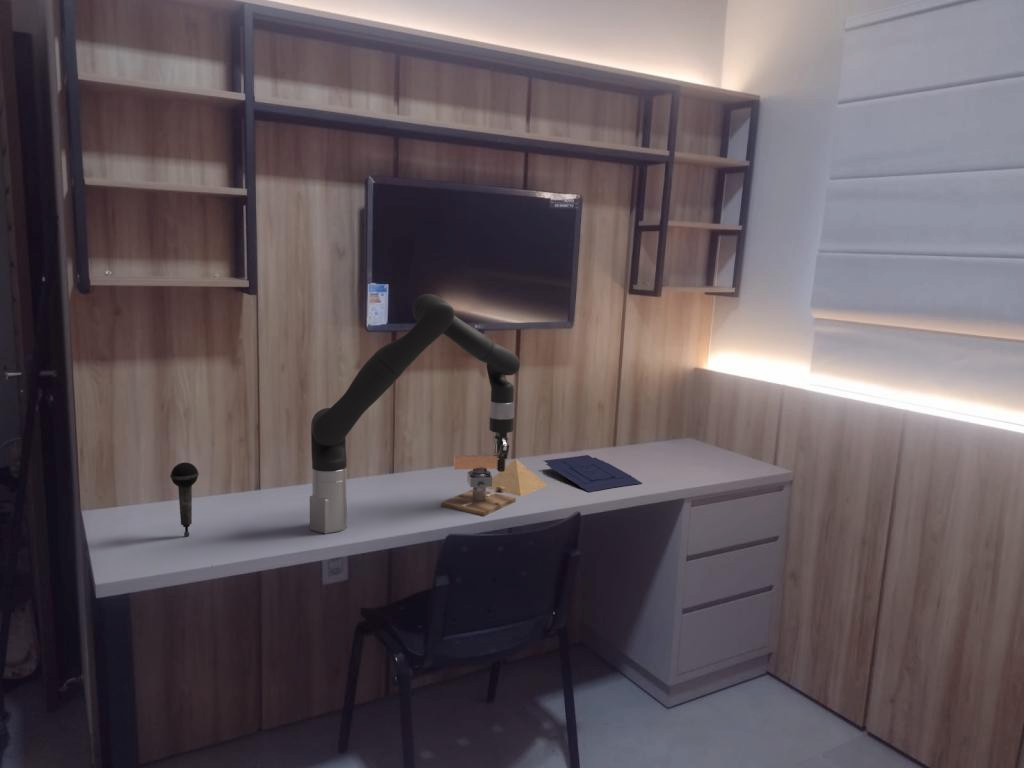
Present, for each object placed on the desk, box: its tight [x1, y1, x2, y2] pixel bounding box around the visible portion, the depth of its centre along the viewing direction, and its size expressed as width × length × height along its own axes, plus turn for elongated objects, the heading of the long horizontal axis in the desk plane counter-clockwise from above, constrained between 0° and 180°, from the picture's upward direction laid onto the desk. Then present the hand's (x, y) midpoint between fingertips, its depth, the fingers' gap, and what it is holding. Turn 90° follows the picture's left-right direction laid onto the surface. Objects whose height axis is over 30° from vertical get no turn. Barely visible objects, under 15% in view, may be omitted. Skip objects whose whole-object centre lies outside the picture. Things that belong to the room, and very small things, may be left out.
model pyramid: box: [486, 458, 548, 497], centre depth 252 cm, size 17×17×10 cm
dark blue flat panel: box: [543, 454, 642, 493], centre depth 266 cm, size 24×30×4 cm
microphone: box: [169, 462, 200, 537], centre depth 195 cm, size 7×7×20 cm
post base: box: [440, 487, 517, 517], centre depth 232 cm, size 18×16×9 cm
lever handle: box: [453, 454, 507, 488], centre depth 231 cm, size 10×16×9 cm, turn 102°
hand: (500, 470), depth 232 cm, fingers closed
